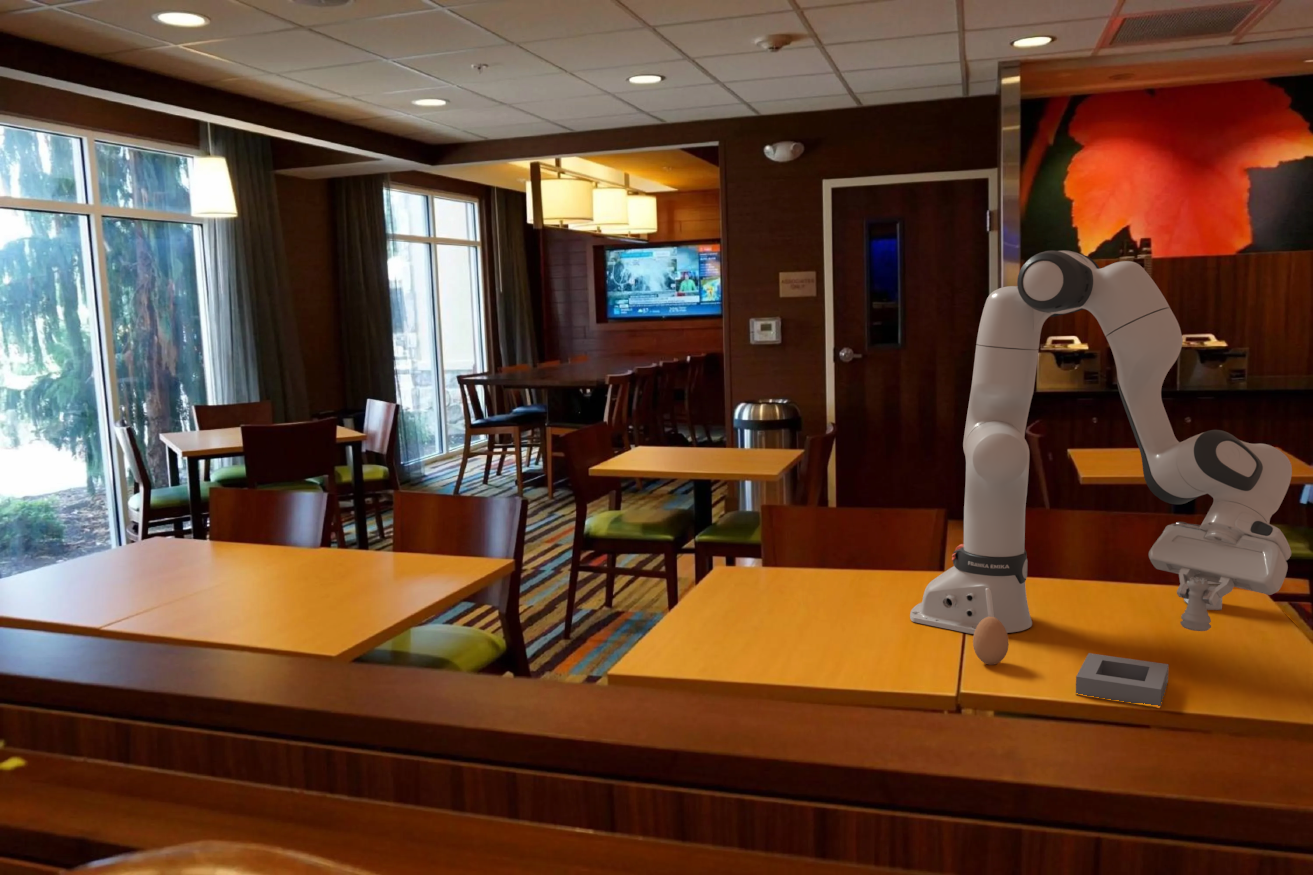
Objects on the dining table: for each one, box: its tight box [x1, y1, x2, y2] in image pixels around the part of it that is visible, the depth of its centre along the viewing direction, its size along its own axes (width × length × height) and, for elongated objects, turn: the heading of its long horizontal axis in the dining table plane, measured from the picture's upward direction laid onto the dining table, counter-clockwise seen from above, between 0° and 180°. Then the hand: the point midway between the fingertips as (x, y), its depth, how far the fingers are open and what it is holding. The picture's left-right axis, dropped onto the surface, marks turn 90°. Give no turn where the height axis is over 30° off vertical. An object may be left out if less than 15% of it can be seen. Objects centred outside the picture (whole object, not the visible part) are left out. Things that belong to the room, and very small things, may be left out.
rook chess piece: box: [1180, 577, 1212, 632], centre depth 166 cm, size 4×4×8 cm
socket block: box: [1075, 652, 1169, 707], centre depth 165 cm, size 12×12×3 cm
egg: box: [972, 617, 1009, 666], centre depth 177 cm, size 6×6×8 cm
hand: (1195, 599), depth 166 cm, fingers closed on rook chess piece, 3 cm apart
